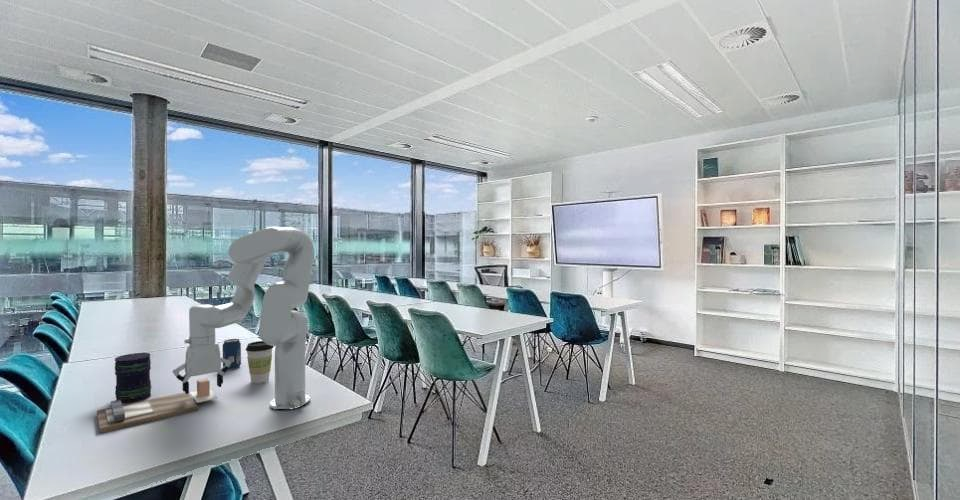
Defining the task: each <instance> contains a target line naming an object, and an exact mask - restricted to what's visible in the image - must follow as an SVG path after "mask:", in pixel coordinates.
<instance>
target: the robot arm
mask: <svg viewBox="0 0 960 500" xmlns="http://www.w3.org/2000/svg"><path fill="white" fill-rule="evenodd" d="M314 248H315V247H314V243H313V241H312V239H311V238H310V236H309V235H308V234H307V233H306V232H304V231H303V230H301V229H298V228H295V227H289V226H287V227H286V226H284V227H283V226H281V227H280V226H269V227H266V228H262V229H259V230H257V231H254V232H252V233H248V234H246V235H242V236H241V237H238V238H236V239H235V240H233V241H232V242H231V243H230V245H229V247H228V251H227V253H228V257H229V258H230V260H231V261H232V262H234V263H233V266H232V267H231V269H230V271H229V273H228V280H229V281H230V282H231V283H232V284H234V285H235V287H236V288H235V291H234V295H233V297H232V298H231V301H230V302H228V303H225V304H224V303H223V304H220V305H215V306H214V305H212V304H205V303H204V304H196V305H193V306H191V307H189V311H188V317H189V318H188V322H189V323H188V324H189V327H188V329H189V330H188V331H189V336H188V338H187V339H184V341H183V342H184V344H188V346H187V347H186V351H185V359H184V361H185V362H184V363H183V364H181V365H179V366H178V367H176V368H174V369H173V370H172V374H173V375H174V376H175V378H177V380H178V381H181V382H182V393H183V392H185V393H186V394H190V383H189V380H190V378H191V377H198V376H202V375H208V374H209V375H210V374H214V373H216V386H217V387H218V388H221V387H222V385H223V384H224V375H225V373H226V372H227V371H228V370H229V369H228V368H229V366H230V364H231V361H230V360H227V359H223V357H221V351H220V345H219V343H218V342H216V329H221V328H224V327H228V326H230V325H231V326H232V325H234V324H238V323H239V322H241V321H242V320H244V318H245V317H246V316H247V314H248V313H249V311H250V309H251V307H252V305H253V303H254V301H255V296H256V295H255V292H256V291H255V290H256V288H255V284H256V282H257V280H258V278H259V276H260V274H261V273H262V271H263V268H264V266H265V265H266V264H267V263H266V262H267V260H268V259H269V257H270V255H274V254H281V253H282V254H283V253H288V257H287V259H286V261H285V263H284V267H283V274H282V280H281V281H278V282H275V283H274V284H271V285H270V286H269V287H267V289H266V290H265V292H264V295H263V298H262V305H261V312H260V317H259V318H260V319H259V326H258V329H259V332H258V334H259V336H260V339H261V341H263V342H264V343H266V344H268V345H271V346H274V347H275V348H274V398H273V399H272V400H271V401H270V402H269V408H271V409H272V408H273V409H272V410H275V409H290V408H295V407H298V406H301V405H304V404H306V403H308V402H309V401H311V396H310V395H309V394H306V340H307V335H308V334H307V332H308V320H307V318H306V315H304V314H303V313H302V312H301V311H298V310H295V309H296V308H299V307H301V306H304V304H305V303H306V302H307V300H308V296H309V290H310V282H311V274H312V273H311V272H312V267H313V262H314V255H315V249H314ZM223 363H226V364H225V366H224V367H223V366H222V364H223ZM183 370H184V372H185V373H184V375H183V376H182V375H181V374H180V372H182V371H183ZM309 403H310V402H309ZM309 403H308V404H309ZM306 405H307V404H306Z"/></svg>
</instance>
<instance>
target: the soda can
mask: <svg viewBox="0 0 960 500" xmlns="http://www.w3.org/2000/svg"><path fill="white" fill-rule="evenodd" d="M241 343H242V342H241V341H240V338H228V339H225V340H224V341H223V344H222V358H223V359H227V360H230V361H231V364H230V366H229V368H228V370H234V369H235V370H236V369H239V368H240V366H241V364H242V344H241ZM225 364H226V363H223V362H222V368H223V367H224V366H225Z"/></svg>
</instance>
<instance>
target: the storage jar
mask: <svg viewBox="0 0 960 500" xmlns="http://www.w3.org/2000/svg"><path fill="white" fill-rule="evenodd" d="M114 362H115V363H114V370H115V371H114V374H115V378H116V379H115V381H116V383H115V387H114V388H115V392H114V394H115V398H116V399H115V401H116V400H121V403H122V405H125V404H130V403H135V402H140V401H145V400H149V398H151V396H152V393H151V392H152V384H151V383H152V381H151V376H150V374H151V363H152V361H151V353H150V352H149V353H148V352H137V353H135V352H134V353H128V354H123V355H120V356H117V357H115V358H114Z"/></svg>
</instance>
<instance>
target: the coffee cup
mask: <svg viewBox="0 0 960 500" xmlns="http://www.w3.org/2000/svg"><path fill="white" fill-rule="evenodd" d="M274 347H275V346H271V345H268V344H266V343H264V342H263V340H261V341H260V340H259V341H253V342H250V343H248V344H247V346H246V348H245V351H246V354H247V356H246V357H247V363H248V370H249V376H250V383H251V384H253V383H260V384H263V383H262V382H265V383H267V382H269V381H268V380H270V373H271V368H272V359H273V349H274ZM266 381H267V382H266Z"/></svg>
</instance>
